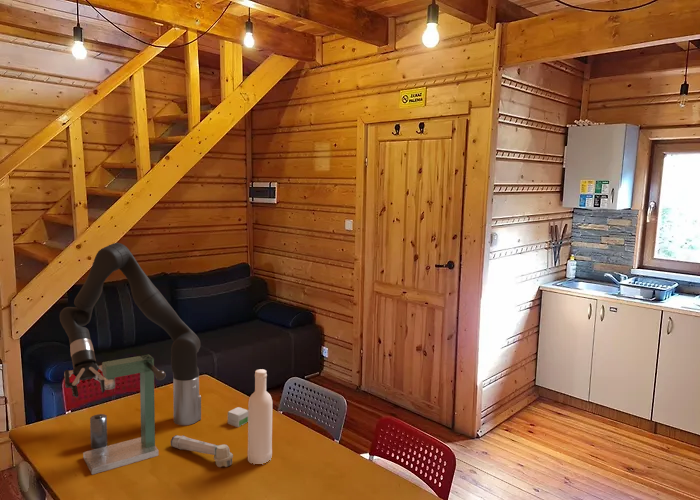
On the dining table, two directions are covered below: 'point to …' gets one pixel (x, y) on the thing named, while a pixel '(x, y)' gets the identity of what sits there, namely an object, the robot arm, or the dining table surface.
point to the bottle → (260, 421)
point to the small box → (238, 417)
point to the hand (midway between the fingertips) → (90, 394)
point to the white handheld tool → (204, 449)
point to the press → (145, 444)
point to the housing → (98, 431)
